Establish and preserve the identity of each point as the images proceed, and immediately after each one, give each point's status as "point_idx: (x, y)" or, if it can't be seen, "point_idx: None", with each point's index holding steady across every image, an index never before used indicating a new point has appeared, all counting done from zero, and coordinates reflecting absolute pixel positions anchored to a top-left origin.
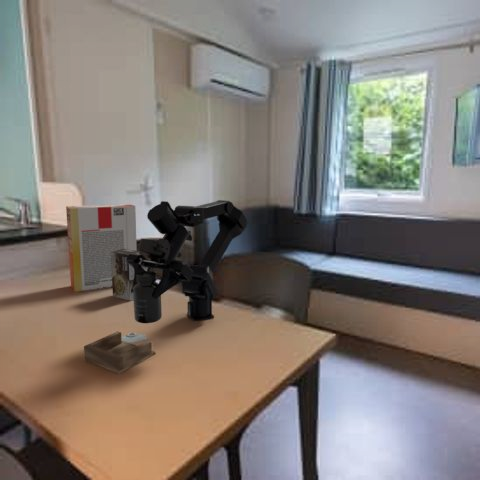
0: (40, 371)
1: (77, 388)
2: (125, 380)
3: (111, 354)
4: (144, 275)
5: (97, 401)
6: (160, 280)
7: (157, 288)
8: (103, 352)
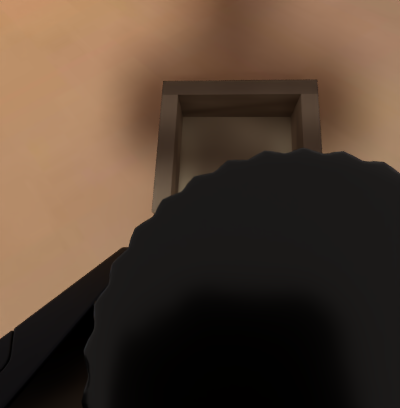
0: (343, 27)
1: (206, 29)
2: (138, 97)
3: (200, 87)
4: (244, 228)
5: (134, 23)
6: (16, 385)
7: (83, 292)
8: (229, 82)
